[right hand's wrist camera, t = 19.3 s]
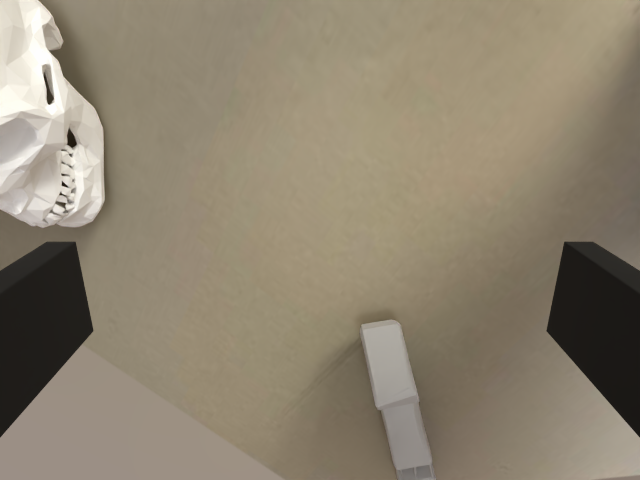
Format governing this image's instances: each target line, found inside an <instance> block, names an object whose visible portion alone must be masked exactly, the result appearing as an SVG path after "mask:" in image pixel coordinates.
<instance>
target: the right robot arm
mask: <svg viewBox="0 0 640 480" xmlns="http://www.w3.org/2000/svg"><path fill="white" fill-rule="evenodd" d="M92 332H93V326H92V321H91V316H90V311H89V306H88V301H87V296H86V291H85V286H84V281H83V277H82V272H81V267H80V262H79V257H78V252H77V247H76V242H46V243H44V244H43V245H41V246H39V247H38V248H36V249H35V250H33V251H31V252H30V253H28V254H27V255H25V256H23V257H22V258H20V259H19V260H17V261H15V262H14V263H12V264H11V265H9V266H7V267H6V268H4V269H2V270H1V271H0V437H1V436H2V435H3V434H4V432H5V431H6V430H7V429H8V428H9V427H10V426H11V425H12V423H13V422H14V421H15V420H16V419H17V418H18V417H19V415H20V414H21V413H22V412H23V411H24V410H25V409H26V407H27V406H28V405H29V404H30V403H31V402H32V401H33V399H34V398H35V397H36V396H37V395H38V394H39V393H40V391H41V390H42V389H43V388H44V387H45V386H46V385H47V383H48V382H49V381H50V380H51V379H52V378H53V377H54V375H55V374H56V373H57V372H58V371H59V370H60V369H61V367H62V366H63V365H64V364H65V363H66V362H67V360H68V359H69V358H70V357H71V356H72V355H73V354H74V353H75V351H76V350H77V349H78V348H79V347H80V346H81V345H82V343H83V342H84V341H85V340H86V339H87V338H88V337H89V335H90V334H91V333H92ZM547 332H548V333H549V334H550V335H551V337H552V338H553V339H554V340H555V341H556V342H557V343H558V345H559V346H560V347H561V348H562V349H563V350H564V351H565V353H566V354H567V355H568V356H569V357H570V358H571V359H572V361H573V362H574V363H575V364H576V365H577V366H578V367H579V369H580V370H581V371H582V372H583V373H584V374H585V375H586V377H587V378H588V379H589V380H590V381H591V382H592V383H593V385H594V386H595V387H596V388H597V389H598V390H599V391H600V393H601V394H602V395H603V396H604V397H605V398H606V399H607V401H608V402H609V403H610V404H611V405H612V406H613V407H614V409H615V410H616V411H617V412H618V413H619V414H620V415H621V417H622V418H623V419H624V420H625V421H626V422H627V423H628V425H629V426H630V427H631V428H632V429H633V430H634V431H635V433H636V434H637V435H638V436H639V437H640V271H639V270H638V269H636V268H634V267H633V266H631V265H629V264H628V263H626V262H625V261H623V260H621V259H620V258H618V257H617V256H615V255H613V254H612V253H610V252H609V251H607V250H605V249H604V248H602V247H601V246H599V245H597V244H596V243H594V242H564V247H563V252H562V257H561V262H560V267H559V272H558V277H557V281H556V286H555V291H554V296H553V301H552V306H551V311H550V316H549V321H548V326H547Z"/></svg>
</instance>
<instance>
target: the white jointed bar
mask: <svg viewBox="0 0 640 480" xmlns="http://www.w3.org/2000/svg"><path fill="white" fill-rule="evenodd" d="M359 334H360V337H361V341H362V345H363V349H364V353H365V358H366V363H367V367H368V372H369V377H370V382H371V387H372V391H373V396H374V401H375V406H376V407H377V410H381V414H382V418H383V422H384V426H385V430H386V434H387V438H388V442H389V447H390V451H391V456H392V460H393V465H394V466H395V468H396V477H397V480H437V479H436V477H435V473H434V469H433V465H432V454H431V450H430V446H429V442H428V438H427V434H426V430H425V426H424V423H423V419H422V415H421V410H420V406H419V401H420V400H419V396H418V392H417V388H416V384H415V381H414V377H413V373H412V369H411V365H410V361H409V357H408V353H407V348H406V344H405V340H404V336H403V332H402V328H401V324H400V323H398V322H397V321H395V320H393V319H391V320H385V321H379V322H373V323H367V324H361V327H360V333H359Z"/></svg>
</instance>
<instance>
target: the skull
mask: <svg viewBox="0 0 640 480" xmlns="http://www.w3.org/2000/svg"><path fill="white" fill-rule="evenodd" d="M62 44H63V39H62V37H61V34H60V32H59V29H58V28H57V26H56V25H55V22H54V18H53V16H52V15H51V13H50V12H49V11H48V10H47V9H46V8H45V7H44V6H43V5H42V4H41V3H40V2H39V1H38V0H0V210H2V211H4V212H7V213H9V214H10V215H12V216H14V217H15V218H17V219H19V220H21V221H24V222H26V223H27V224H29V225H30V226H36V225H37V226H39V227H41V228H44V227H47V226H50V225H54V224H55V223H56V224H58V225H60V226H66V227H81V226H83V225H86V224H88V223H90V222H92V221H93V220H94V219H95V217H96V216H97V214H98V213H99V211H100V210H101V208H102V206H103V203H104V201H105V191H104V141H103V127H102V125H101V122H100V119H99V116H98V114H97V112H96V110H95V108H94V107H93V106H92V105H91V104H90V103H89V102H88V101H87V100H86V99H84V98H83V97H82V96H81V95H80V94H79V93H78V92H77V91H76V90H75V89H74V87H73V86H72V85H71V84H70V83H69V82H68V81H67V80H66V79H65V78H64V77H63V74H62V71H61V67H60V64H59V61H58V60H57V59H56V58H55V57H54V56H53V55H52V54H51V53H50V52H49V51H51V50H56V49H61V46H62ZM44 72H45V75H46V78H47V82H48V85H49V89H50V92H51V94H52V96H53V98H54V100H53V101H52V103H51V104H50V105H48V103H47V89H46V85H45V81H44V78H43V76H44ZM69 129H70V130H71V132H72V133H73V134H74V136H75V139H76V143H77V145H76V146H74V147H73V148H71V147H70V146H68V145H67V143H68V142H67V133H68V130H69ZM62 149H63V151H61V150H62ZM69 154H71V157H70V156H69ZM62 162H63V163H64V164H61V163H62ZM69 166H71V168H70V167H69ZM61 174H64V176H62V175H61ZM62 181H63V182H64V183H65V184H66V185H67V186H68V188H67V187H63V186H62ZM71 190H72V192H71ZM60 192H61V193H62V194H64V195H65V196H61V195H59V194H60ZM67 200H69V202H67ZM57 201H59V202H63V203H66V205H65V206H64V205H62V204H60V203H59V202H57Z"/></svg>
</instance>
